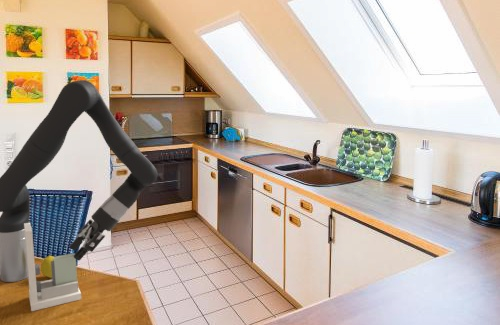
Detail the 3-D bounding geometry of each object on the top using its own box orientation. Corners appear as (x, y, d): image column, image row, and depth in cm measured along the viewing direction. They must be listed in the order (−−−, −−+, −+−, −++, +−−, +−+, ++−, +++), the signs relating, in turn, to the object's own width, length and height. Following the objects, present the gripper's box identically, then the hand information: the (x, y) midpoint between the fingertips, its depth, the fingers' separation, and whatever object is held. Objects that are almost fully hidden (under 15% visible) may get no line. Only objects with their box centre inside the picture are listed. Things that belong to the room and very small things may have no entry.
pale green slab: (76, 285, 125) (74, 253, 123) (77, 289, 123) (75, 256, 121) (52, 290, 121) (50, 257, 119) (53, 294, 119) (51, 260, 117)
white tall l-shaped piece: (76, 286, 128) (72, 216, 124) (81, 299, 121) (77, 224, 117) (29, 297, 121) (23, 223, 117) (31, 311, 114) (24, 232, 109)
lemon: (42, 275, 135) (40, 253, 134) (60, 273, 138) (58, 251, 136) (41, 282, 130) (39, 260, 129) (59, 279, 133) (58, 257, 131)
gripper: (96, 200, 130) (60, 239, 126) (106, 212, 118) (67, 255, 114) (113, 213, 133) (79, 252, 129) (125, 226, 122) (87, 268, 118)
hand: (73, 253), depth 122 cm, fingers open, 8 cm apart
